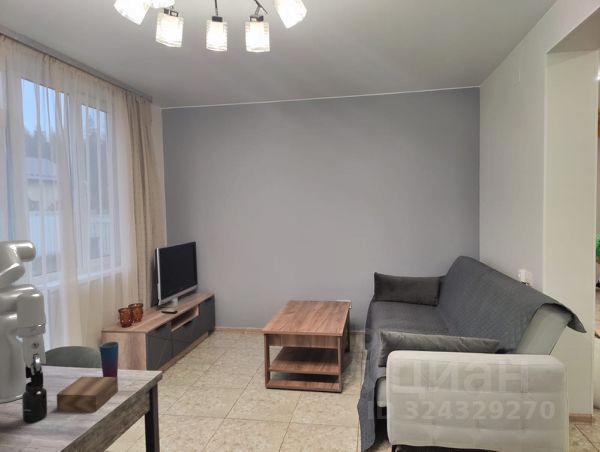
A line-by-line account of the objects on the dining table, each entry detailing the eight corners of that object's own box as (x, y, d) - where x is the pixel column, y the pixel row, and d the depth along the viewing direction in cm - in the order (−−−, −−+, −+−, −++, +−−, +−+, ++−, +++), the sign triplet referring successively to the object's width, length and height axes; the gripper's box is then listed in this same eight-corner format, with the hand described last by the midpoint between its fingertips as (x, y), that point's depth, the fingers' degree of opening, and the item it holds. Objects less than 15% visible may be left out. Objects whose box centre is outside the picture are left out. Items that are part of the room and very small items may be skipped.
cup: (112, 385, 151) (110, 347, 151) (97, 383, 153) (95, 346, 152) (123, 377, 158) (122, 341, 157) (108, 376, 159) (107, 340, 159)
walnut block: (57, 411, 133) (56, 394, 133) (82, 391, 147) (81, 376, 147) (96, 412, 132) (95, 395, 132) (117, 392, 146) (117, 377, 146)
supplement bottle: (20, 425, 124) (18, 389, 123) (25, 415, 130) (24, 380, 129) (45, 420, 126) (44, 385, 126) (49, 410, 133) (48, 376, 132)
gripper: (51, 332, 123) (53, 385, 124) (40, 322, 135) (42, 370, 136) (22, 338, 118) (25, 393, 118) (13, 327, 130) (16, 377, 131)
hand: (34, 381), depth 127 cm, fingers open, 9 cm apart
